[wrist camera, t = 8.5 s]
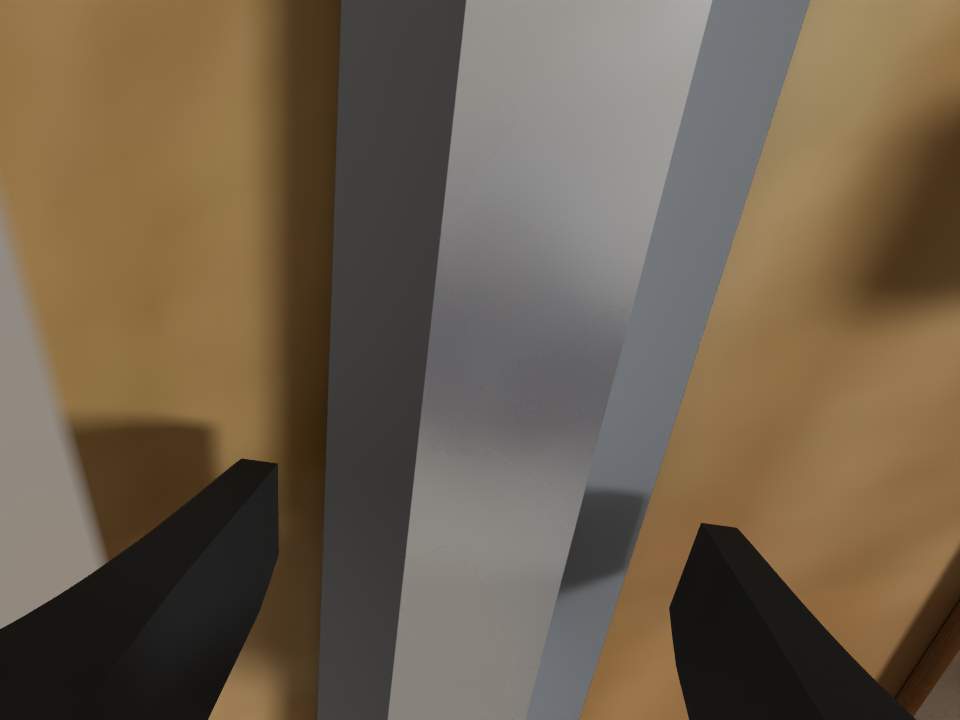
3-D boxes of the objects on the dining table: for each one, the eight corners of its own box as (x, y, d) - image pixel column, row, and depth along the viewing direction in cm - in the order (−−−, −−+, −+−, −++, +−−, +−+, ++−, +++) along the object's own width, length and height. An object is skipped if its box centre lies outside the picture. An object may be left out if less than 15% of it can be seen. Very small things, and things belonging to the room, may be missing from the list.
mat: (544, 805, 18) (544, 825, 18) (319, 776, 18) (314, 795, 18) (851, -175, 8) (869, -184, 8) (359, -252, 8) (350, -265, 8)
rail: (479, 807, 18) (473, 917, 15) (386, 794, 18) (367, 904, 15) (701, -151, 8) (765, -202, 6) (500, -183, 8) (492, -245, 6)
